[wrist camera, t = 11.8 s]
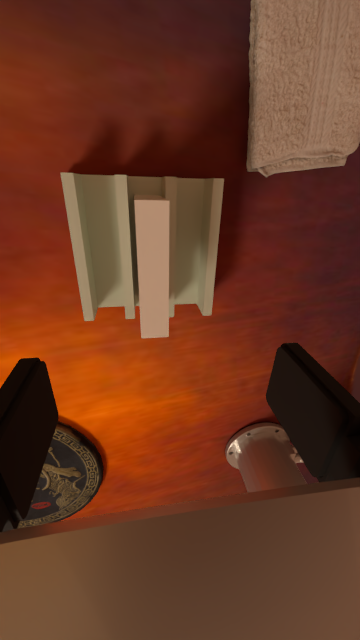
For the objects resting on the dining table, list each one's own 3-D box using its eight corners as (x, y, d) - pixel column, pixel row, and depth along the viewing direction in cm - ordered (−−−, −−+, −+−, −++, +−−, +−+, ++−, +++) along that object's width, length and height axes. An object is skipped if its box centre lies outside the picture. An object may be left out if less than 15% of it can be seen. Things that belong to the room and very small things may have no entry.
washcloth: (243, 180, 29) (254, 179, 26) (243, -82, 20) (260, -124, 17) (343, 166, 30) (364, 164, 27) (383, -90, 21) (420, -130, 18)
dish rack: (215, 179, 28) (229, 178, 24) (206, 299, 34) (215, 315, 30) (66, 174, 25) (54, 172, 21) (86, 304, 32) (79, 321, 28)
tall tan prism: (157, 195, 27) (169, 200, 18) (159, 294, 32) (168, 336, 23) (134, 194, 26) (134, 199, 17) (139, 295, 31) (141, 338, 23)
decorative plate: (107, 519, 52) (-65, 543, 47) (108, 509, 53) (-58, 531, 48) (96, 410, 38) (-147, 426, 33) (97, 401, 40) (-133, 415, 35)
